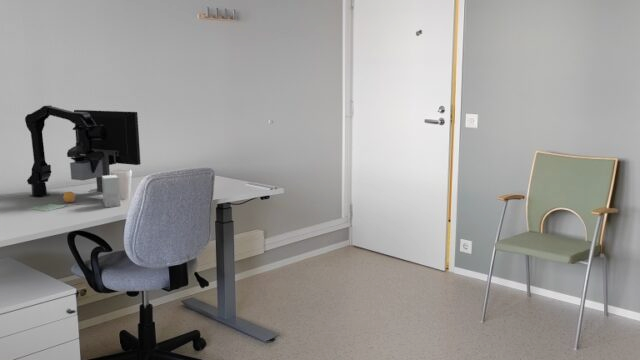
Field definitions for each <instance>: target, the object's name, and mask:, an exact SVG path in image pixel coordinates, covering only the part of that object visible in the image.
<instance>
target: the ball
mask: <svg viewBox="0 0 640 360" xmlns="http://www.w3.org/2000/svg"><path fill="white" fill-rule="evenodd" d="M62 197H63V200H64V201H65V202H66V203H72V202H74V201H75V199H76V195H75V193H74V192H73V191H66V192H65V193H64V194H63V196H62Z"/></svg>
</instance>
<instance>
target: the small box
mask: <svg viewBox="0 0 640 360" xmlns="http://www.w3.org/2000/svg"><path fill="white" fill-rule="evenodd" d="M102 187H103V193H102V199H103V201H102V202H103V205H104V206H105V208H111V207H112V208H113V207H119V206H121V200H120V194H119V178H118V177H117V176H116V175H111V174H110V175H107V176H102Z"/></svg>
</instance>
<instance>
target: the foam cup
mask: <svg viewBox="0 0 640 360" xmlns="http://www.w3.org/2000/svg"><path fill="white" fill-rule="evenodd" d="M132 174H133V173H132V170H131V169H115V170H111V171H110V175H116V176H117V177H118V178H119V194H120V201H123V200H129V199H131V188H132Z"/></svg>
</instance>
